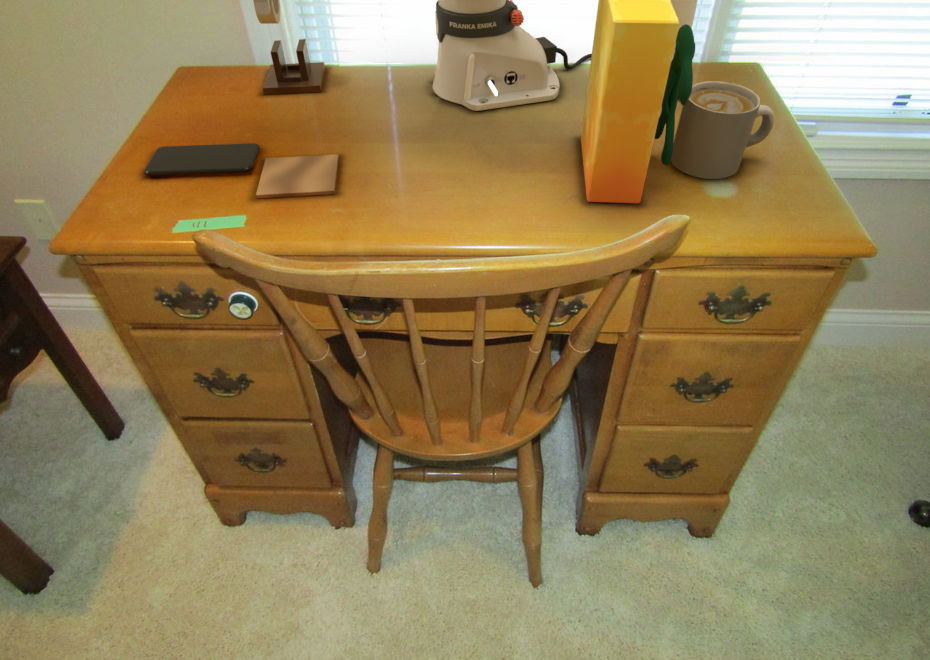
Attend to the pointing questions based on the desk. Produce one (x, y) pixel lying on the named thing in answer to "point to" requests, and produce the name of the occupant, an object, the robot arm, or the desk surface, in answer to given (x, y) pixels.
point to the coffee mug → (718, 129)
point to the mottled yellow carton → (632, 94)
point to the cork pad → (298, 176)
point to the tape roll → (270, 14)
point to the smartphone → (202, 159)
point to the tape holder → (293, 72)
